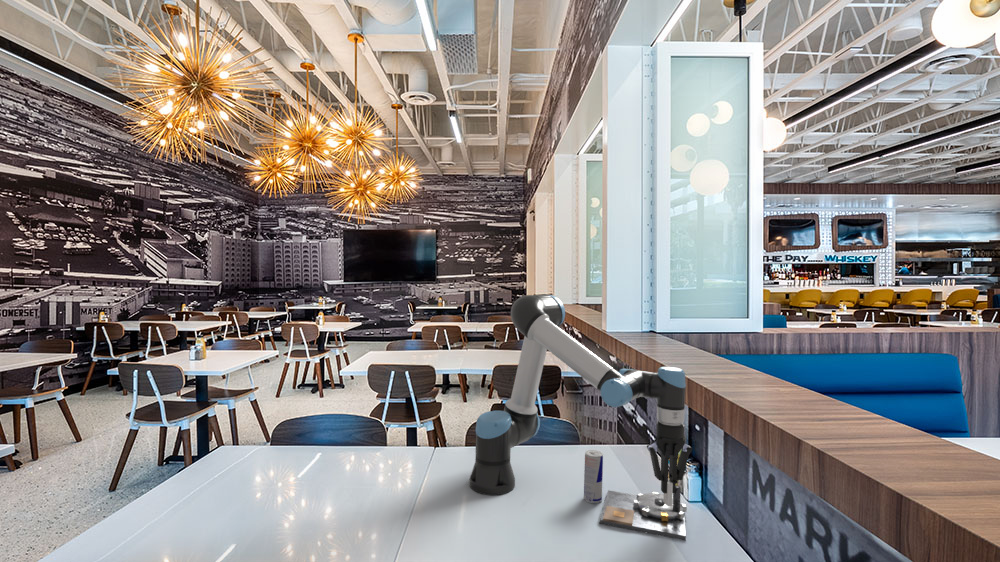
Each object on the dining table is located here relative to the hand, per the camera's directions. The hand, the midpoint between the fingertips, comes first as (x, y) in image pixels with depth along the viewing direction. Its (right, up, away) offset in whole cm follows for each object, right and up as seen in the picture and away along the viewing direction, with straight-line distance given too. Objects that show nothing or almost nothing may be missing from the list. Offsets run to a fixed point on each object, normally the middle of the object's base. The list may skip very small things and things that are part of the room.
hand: (667, 503), depth 140 cm
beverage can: (-19, -5, +13) cm, 24 cm away
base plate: (-6, -5, +4) cm, 9 cm away
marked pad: (-14, -4, +1) cm, 14 cm away
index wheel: (-1, -4, +6) cm, 7 cm away
